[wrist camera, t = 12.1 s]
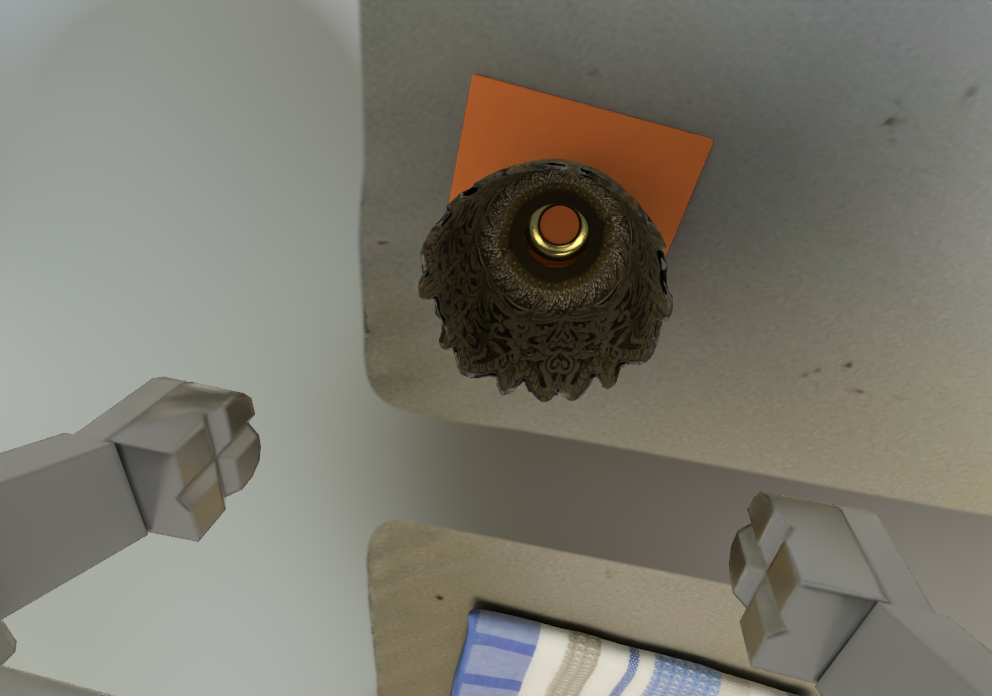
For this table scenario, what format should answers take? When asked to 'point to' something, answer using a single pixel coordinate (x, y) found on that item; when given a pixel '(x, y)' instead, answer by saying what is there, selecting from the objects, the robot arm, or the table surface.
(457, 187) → the orange square board
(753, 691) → the dish towel
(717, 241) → the table surface
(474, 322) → the brown ornate vase
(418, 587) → the table surface
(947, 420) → the table surface
